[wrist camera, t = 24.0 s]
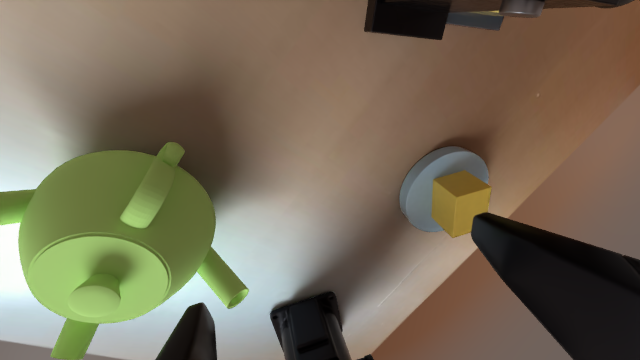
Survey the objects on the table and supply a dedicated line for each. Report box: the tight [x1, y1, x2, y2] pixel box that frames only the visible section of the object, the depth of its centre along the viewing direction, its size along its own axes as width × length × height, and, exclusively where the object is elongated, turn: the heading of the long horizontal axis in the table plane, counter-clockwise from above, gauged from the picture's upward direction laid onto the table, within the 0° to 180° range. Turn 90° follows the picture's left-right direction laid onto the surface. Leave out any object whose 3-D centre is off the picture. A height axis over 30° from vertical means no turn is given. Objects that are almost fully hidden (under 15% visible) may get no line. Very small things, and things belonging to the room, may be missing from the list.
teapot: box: [0, 142, 249, 360], centre depth 17 cm, size 11×12×8 cm
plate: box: [399, 146, 489, 232], centre depth 26 cm, size 8×8×1 cm
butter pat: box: [431, 170, 492, 238], centre depth 24 cm, size 4×3×3 cm
